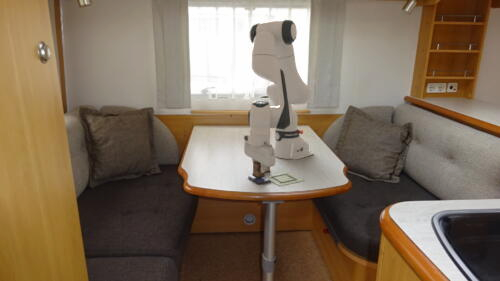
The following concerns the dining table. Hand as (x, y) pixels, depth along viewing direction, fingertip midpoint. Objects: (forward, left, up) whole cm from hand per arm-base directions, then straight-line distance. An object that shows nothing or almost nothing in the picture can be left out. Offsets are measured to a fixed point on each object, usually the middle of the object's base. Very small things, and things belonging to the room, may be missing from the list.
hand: (258, 170), depth 158 cm
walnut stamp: (0, 0, -3) cm, 3 cm away
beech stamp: (-8, -8, -5) cm, 13 cm away
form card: (-11, +4, -5) cm, 12 cm away
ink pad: (0, 0, -5) cm, 5 cm away
